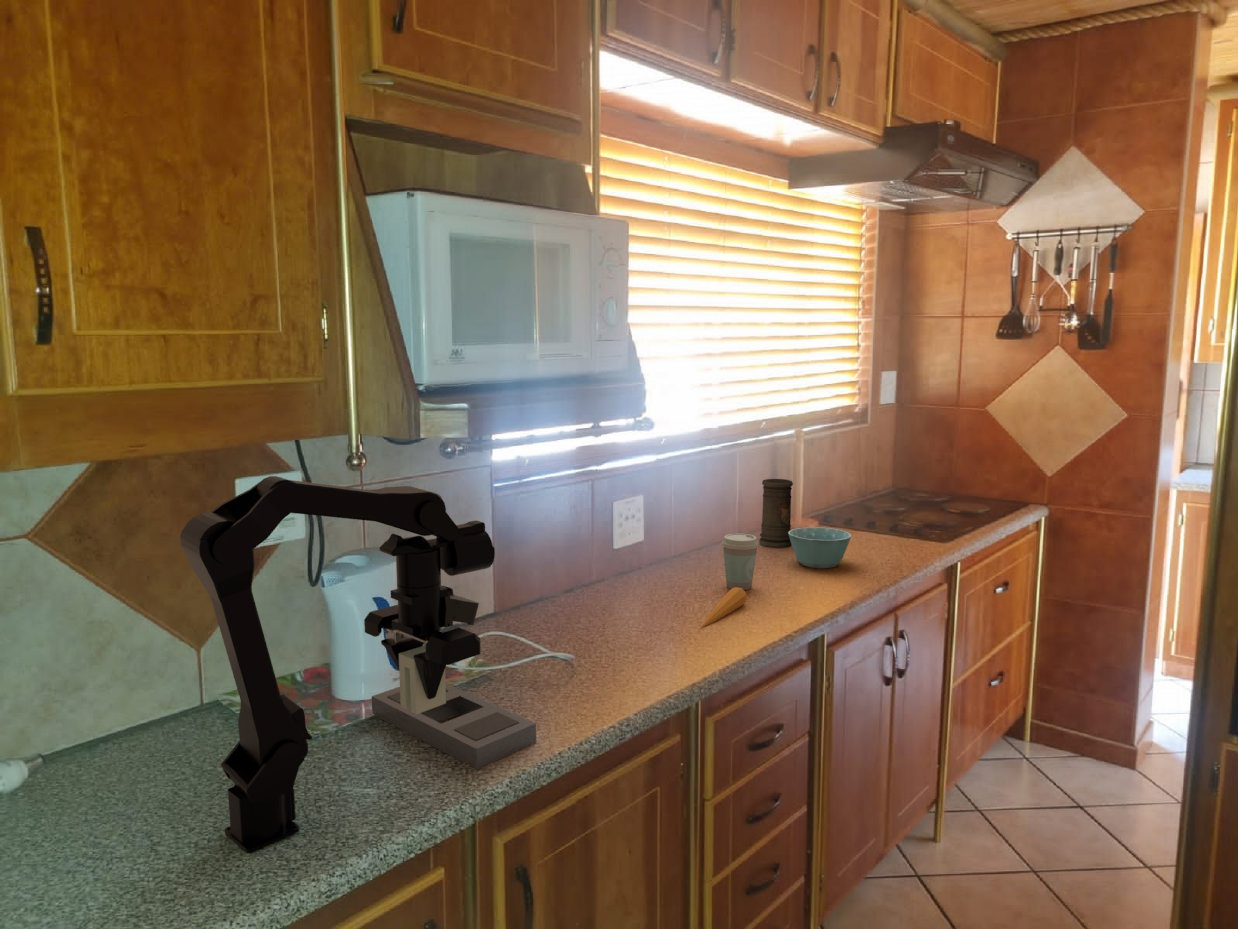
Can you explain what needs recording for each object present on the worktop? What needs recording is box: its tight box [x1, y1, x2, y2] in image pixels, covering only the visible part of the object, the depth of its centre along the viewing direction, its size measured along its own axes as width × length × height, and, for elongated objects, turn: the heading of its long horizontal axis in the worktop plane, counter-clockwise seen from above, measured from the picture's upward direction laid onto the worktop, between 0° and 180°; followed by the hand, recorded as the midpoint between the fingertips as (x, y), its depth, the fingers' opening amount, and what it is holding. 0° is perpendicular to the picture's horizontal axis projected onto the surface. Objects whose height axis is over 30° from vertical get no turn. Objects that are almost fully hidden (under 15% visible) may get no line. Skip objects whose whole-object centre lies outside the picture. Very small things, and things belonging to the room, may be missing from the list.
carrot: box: [700, 587, 747, 629], centre depth 191 cm, size 20×4×4 cm, turn 149°
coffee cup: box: [721, 533, 759, 591], centre depth 211 cm, size 8×8×12 cm
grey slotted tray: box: [371, 682, 537, 770], centre depth 137 cm, size 11×26×3 cm, turn 48°
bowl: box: [788, 526, 852, 569], centre depth 232 cm, size 16×16×8 cm
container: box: [758, 478, 794, 548], centre depth 252 cm, size 9×9×18 cm
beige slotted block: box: [398, 644, 446, 714], centre depth 121 cm, size 5×4×8 cm
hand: (422, 694), depth 122 cm, fingers closed on beige slotted block, 4 cm apart
